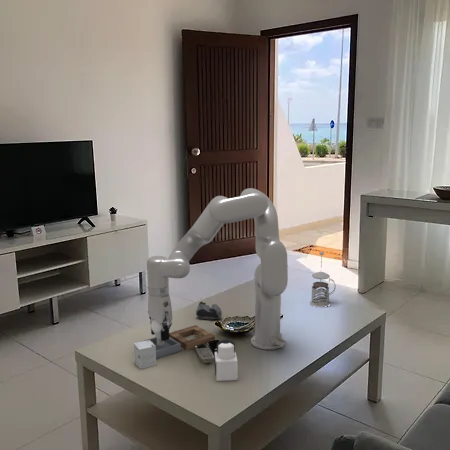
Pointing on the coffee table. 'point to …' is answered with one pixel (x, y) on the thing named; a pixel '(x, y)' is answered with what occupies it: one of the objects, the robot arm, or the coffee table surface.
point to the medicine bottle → (226, 361)
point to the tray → (166, 347)
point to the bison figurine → (208, 311)
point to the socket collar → (201, 334)
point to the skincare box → (145, 354)
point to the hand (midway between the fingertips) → (160, 336)
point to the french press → (320, 300)
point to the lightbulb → (157, 331)
